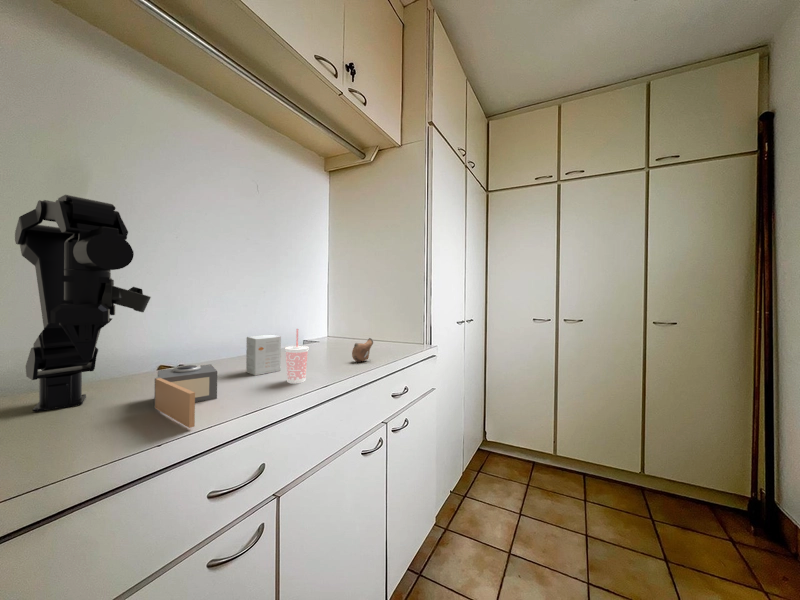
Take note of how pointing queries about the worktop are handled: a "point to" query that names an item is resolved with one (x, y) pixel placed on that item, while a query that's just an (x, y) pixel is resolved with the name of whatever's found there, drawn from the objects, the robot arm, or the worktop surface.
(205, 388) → the camera housing
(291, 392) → the worktop surface
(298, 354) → the beverage cup
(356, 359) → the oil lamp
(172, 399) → the side door
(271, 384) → the worktop surface
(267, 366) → the small box
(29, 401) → the worktop surface
